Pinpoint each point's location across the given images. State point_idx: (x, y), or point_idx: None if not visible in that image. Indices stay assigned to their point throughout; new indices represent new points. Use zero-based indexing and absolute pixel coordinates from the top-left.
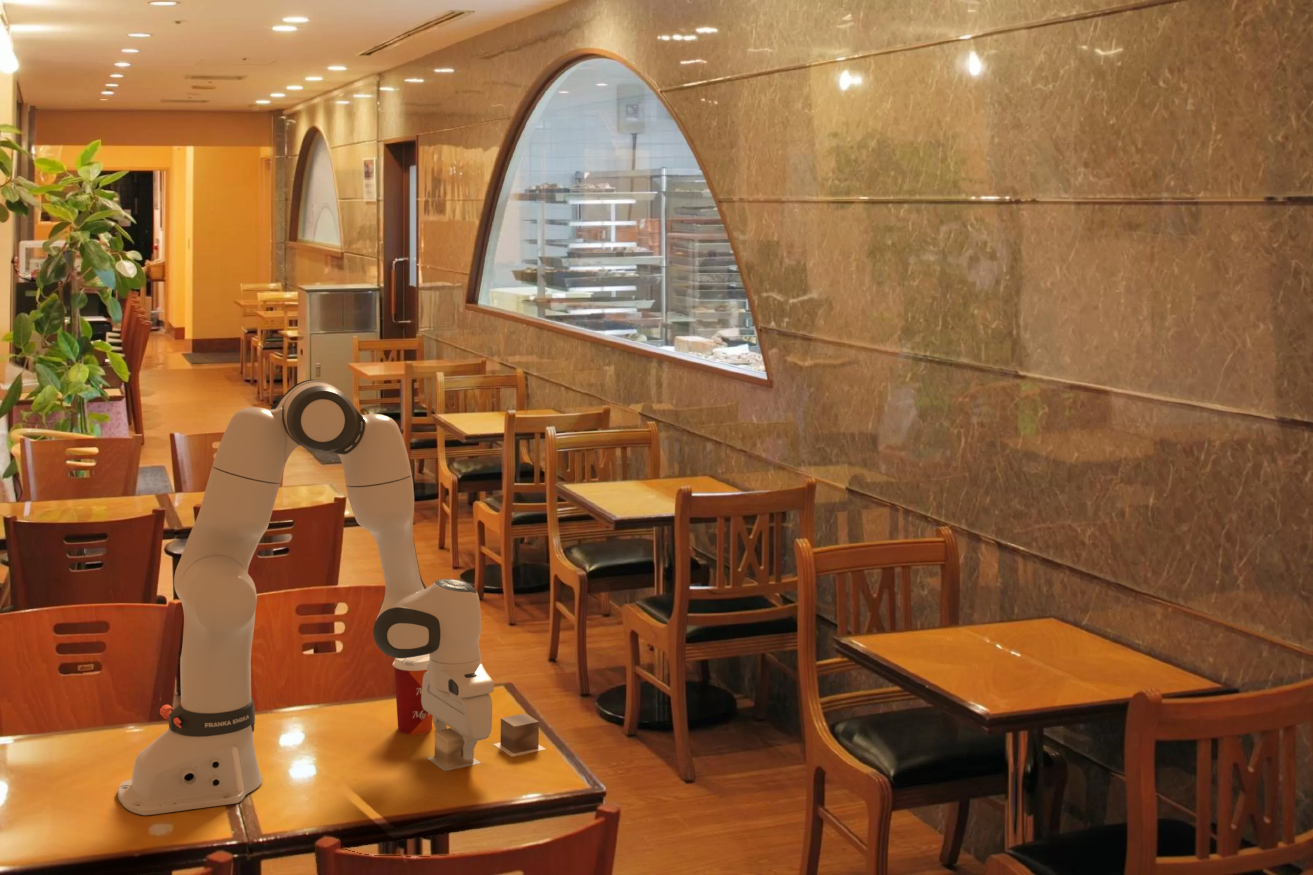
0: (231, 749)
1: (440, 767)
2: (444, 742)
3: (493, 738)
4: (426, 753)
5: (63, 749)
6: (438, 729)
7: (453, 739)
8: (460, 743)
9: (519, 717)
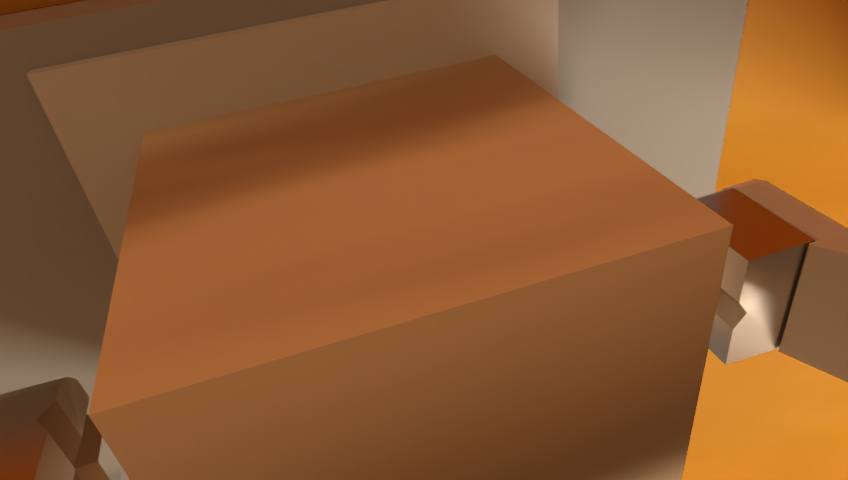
0: None
1: (182, 51)
2: (260, 291)
3: (688, 467)
4: (754, 36)
5: None
6: (839, 268)
7: None
8: None
9: None
